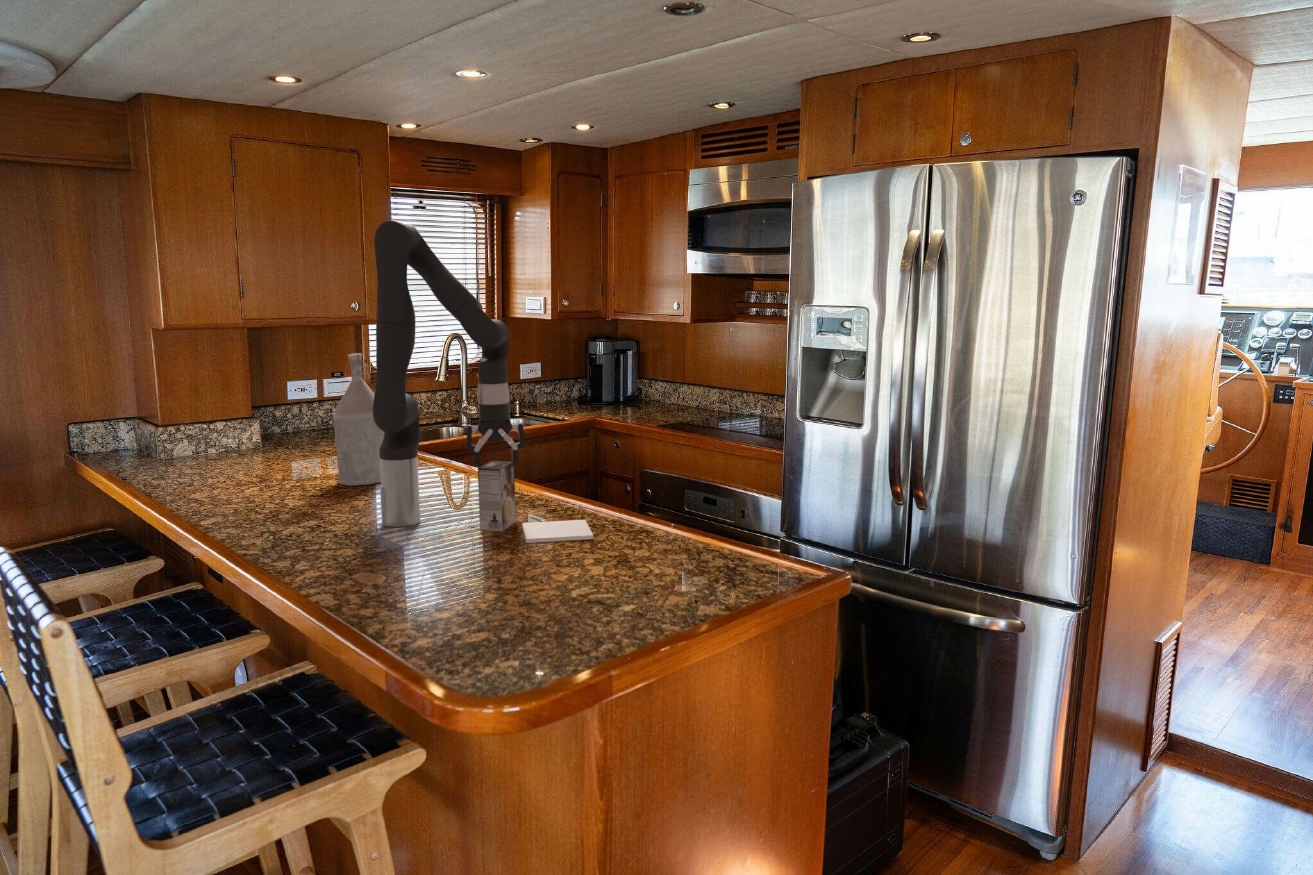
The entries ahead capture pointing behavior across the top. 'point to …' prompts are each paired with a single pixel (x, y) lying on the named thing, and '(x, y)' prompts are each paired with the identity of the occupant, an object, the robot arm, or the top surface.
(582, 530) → the mat
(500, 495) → the coffee box
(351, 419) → the grey bottle
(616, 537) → the top surface
